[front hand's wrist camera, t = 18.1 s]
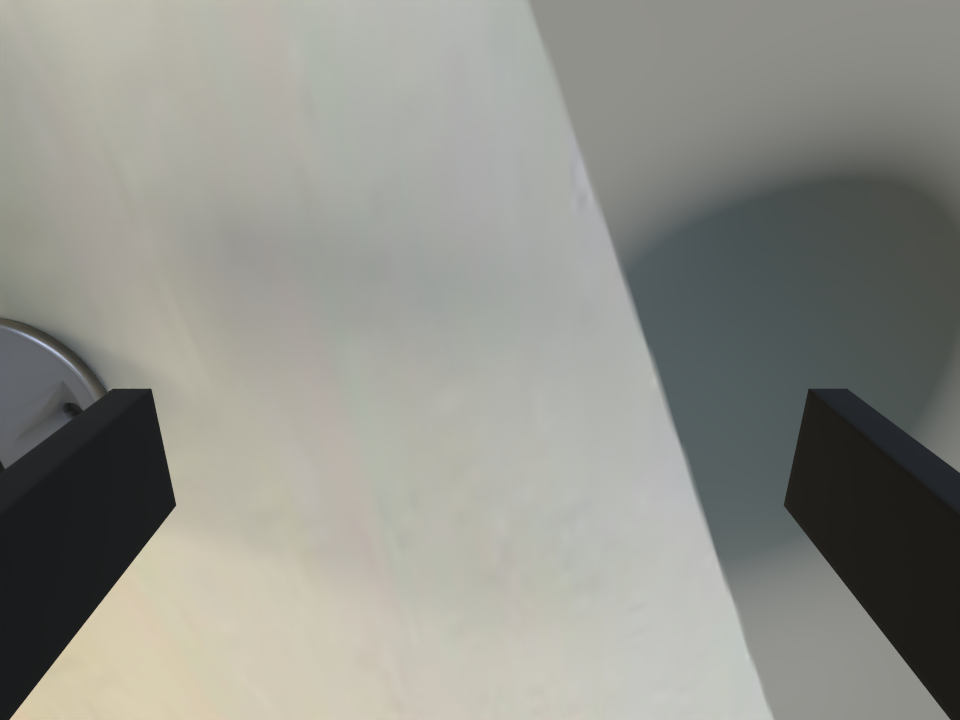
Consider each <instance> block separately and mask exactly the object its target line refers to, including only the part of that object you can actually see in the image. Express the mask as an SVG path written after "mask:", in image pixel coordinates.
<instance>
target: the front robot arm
mask: <svg viewBox="0 0 960 720" xmlns="http://www.w3.org/2000/svg"><path fill="white" fill-rule="evenodd" d="M175 506H176V502H175V497H174V493H173V488H172V483H171V479H170V474H169V469H168V465H167V460H166V455H165V451H164V446H163V441H162V436H161V432H160V427H159V422H158V418H157V413H156V408H155V404H154V399H153V394H152V390H151V389H112V390H111V391H109V392H108V393H106V392H105V390H104V388H103V386H102V385H101V383H100V382H99V380H98V379H97V377H96V376H95V375H94V373H93V372H92V371H91V370H90V369H89V367H88V366H87V365H86V364H85V363H84V362H83V361H82V360H81V359H80V358H79V357H78V356H77V355H76V354H74V353H73V352H72V351H71V350H70V349H68V348H67V347H66V346H64V345H63V344H62V343H60V342H58V341H57V340H55V339H54V338H52V337H50V336H49V335H47V334H45V333H43V332H41V331H39V330H37V329H34V328H32V327H30V326H27V325H24V324H21V323H18V322H14V321H11V320H6V319H1V318H0V720H10V718H11V717H12V716H13V714H14V713H15V712H16V711H17V709H18V708H19V707H20V705H21V704H22V703H23V702H24V700H25V699H26V698H27V696H28V695H29V694H30V693H31V691H32V690H33V689H34V687H35V686H36V685H37V684H38V682H39V681H40V680H41V678H42V677H43V676H44V675H45V673H46V672H47V671H48V669H49V668H50V667H51V666H52V664H53V663H54V662H55V660H56V659H57V658H58V657H59V655H60V654H61V653H62V651H63V650H64V649H65V648H66V646H67V645H68V644H69V642H70V641H71V640H72V639H73V637H74V636H75V635H76V633H77V632H78V631H79V630H80V628H81V627H82V626H83V624H84V623H85V622H86V621H87V619H88V618H89V617H90V615H91V614H92V613H93V612H94V610H95V609H96V608H97V606H98V605H99V604H100V603H101V601H102V600H103V599H104V597H105V596H106V595H107V594H108V592H109V591H110V590H111V588H112V587H113V586H114V585H115V583H116V582H117V581H118V579H119V578H120V577H121V576H122V574H123V573H124V572H125V570H126V569H127V568H128V567H129V565H130V564H131V563H132V561H133V560H134V559H135V558H136V556H137V555H138V554H139V553H140V551H141V550H142V549H143V547H144V546H145V545H146V544H147V542H148V541H149V540H150V538H151V537H152V536H153V535H154V533H155V532H156V531H157V529H158V528H159V527H160V526H161V524H162V523H163V522H164V520H165V519H166V518H167V517H168V515H169V514H170V513H171V511H172V510H173V509H174V508H175ZM784 506H785V508H786V509H787V510H788V511H789V513H790V514H791V515H792V516H793V518H794V519H795V520H796V522H797V523H798V524H799V526H800V527H801V528H802V529H803V531H804V532H805V533H806V535H807V536H808V537H809V538H810V540H811V541H812V542H813V543H814V545H815V546H816V547H817V549H818V550H819V551H820V552H821V554H822V555H823V556H824V558H825V559H826V560H827V561H828V563H829V564H830V565H831V567H832V568H833V569H834V570H835V572H836V573H837V574H838V576H839V577H840V578H841V579H842V581H843V582H844V583H845V585H846V586H847V587H848V588H849V590H850V591H851V592H852V594H853V595H854V596H855V597H856V599H857V600H858V601H859V603H860V604H861V605H862V606H863V608H864V609H865V610H866V612H867V613H868V614H869V615H870V617H871V618H872V619H873V621H874V622H875V623H876V624H877V626H878V627H879V628H880V630H881V631H882V632H883V633H884V635H885V636H886V637H887V639H888V640H889V641H890V642H891V644H892V645H893V646H894V648H895V649H896V650H897V651H898V653H899V654H900V655H901V657H902V658H903V659H904V660H905V662H906V663H907V664H908V666H909V667H910V668H911V669H912V671H913V672H914V673H915V675H916V676H917V677H918V678H919V680H920V681H921V682H922V683H923V685H924V686H925V687H926V689H927V690H928V691H929V693H930V694H931V695H932V696H933V698H934V699H935V700H936V702H937V703H938V704H939V705H940V707H941V708H942V709H943V710H944V712H945V713H946V714H947V716H948V717H949V718H950V719H951V720H960V473H959V472H958V471H956V470H955V469H954V468H952V467H951V466H950V465H948V464H947V463H946V462H944V461H943V460H942V459H940V458H939V457H938V456H936V455H935V454H934V453H932V452H931V451H930V450H928V449H927V448H926V447H924V446H923V445H922V444H920V443H919V442H918V441H916V440H915V439H914V438H912V437H911V436H910V435H908V434H907V433H906V432H904V431H903V430H901V429H900V428H899V427H897V426H896V425H895V424H893V423H892V422H891V421H889V420H888V419H887V418H885V417H884V416H883V415H881V414H880V413H879V412H877V411H876V410H875V409H873V408H872V407H871V406H869V405H868V404H867V403H865V402H864V401H863V400H861V399H860V398H859V397H857V396H856V395H855V394H853V393H852V392H851V391H849V390H848V389H809V390H808V394H807V399H806V404H805V408H804V413H803V418H802V423H801V427H800V432H799V437H798V441H797V446H796V451H795V455H794V460H793V465H792V469H791V474H790V479H789V483H788V488H787V493H786V497H785V502H784Z"/></svg>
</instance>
